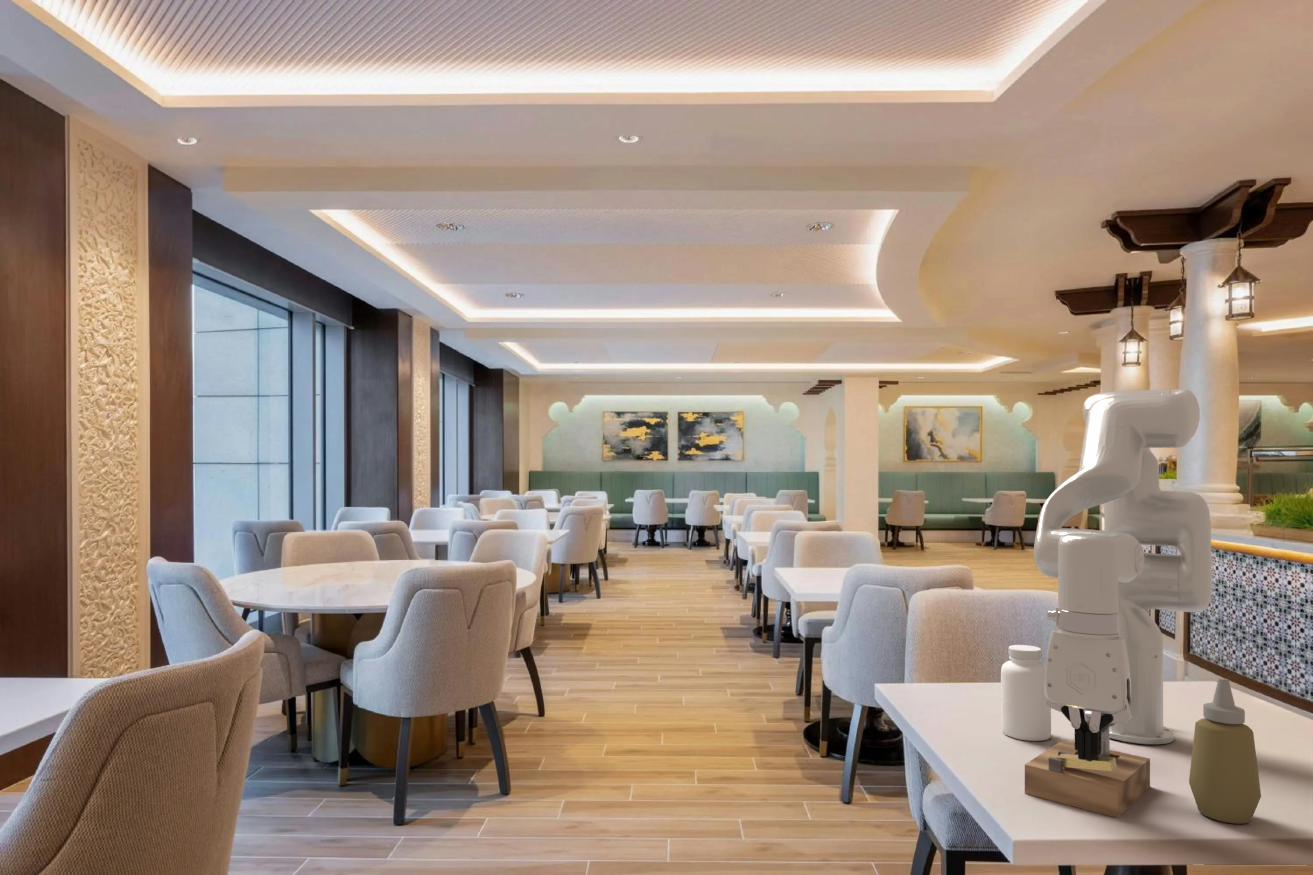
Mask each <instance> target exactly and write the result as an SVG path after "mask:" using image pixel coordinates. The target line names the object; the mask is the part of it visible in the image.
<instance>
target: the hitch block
mask: <svg viewBox="0 0 1313 875" xmlns="http://www.w3.org/2000/svg"><path fill="white" fill-rule="evenodd" d="M1061 754H1074V755H1078V751H1077V750H1075V741H1072V740H1071V741H1070V740H1067V739H1062V740H1061V741H1059V742H1057V743H1056V744H1054V745H1053V746H1051V747H1050V748H1048V749H1047V750H1045V751H1043V752H1042V753H1040V754H1039V755H1037V756H1035V757H1034V758H1033V759H1031V760H1030V761H1028V762H1026V763H1025V764H1024V794H1027V795H1030V796H1034V797H1036V798H1037V797H1038V798H1042V799H1044V800H1049V801H1053V802H1056V803H1061V804H1064V805H1067V806H1071V807H1075V808H1079V809H1083V810H1086V811H1087V810H1088V811H1090V812H1094V813H1098V814H1102V815H1106V816H1110V817H1114V818H1117V819H1118V818H1119V817H1121V816H1122V815H1123V813H1125V811H1126V810H1128V808H1129V807H1131V806H1132V805H1133V804H1134V803H1135V802H1136V800H1139V798H1140V797H1141V796H1142V795H1143V794H1144V793H1145V792H1146V791H1147V790H1148V789H1149V788H1150V787H1151V758H1149V757H1144V756H1139V755H1136V754H1131V753H1127V752H1121V751H1116V750H1113V749H1110V757H1114V758H1115V759H1116V764H1117V767H1116V768H1115V769H1114V770H1112V771H1104V770H1093V769H1081V768H1069V767H1063V760H1061V759H1057V758H1056V757H1058V756H1059V755H1061Z"/></svg>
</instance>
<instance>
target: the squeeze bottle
mask: <svg viewBox="0 0 1313 875" xmlns="http://www.w3.org/2000/svg"><path fill="white" fill-rule="evenodd" d="M1217 679H1218V680H1217V683H1216V687H1215V691H1214V694H1213V695H1214V696H1213V699H1212V702H1206V703H1203V705H1202V706H1203V707H1202V710H1203V714H1202V715H1203V718H1200V719H1199V720H1197V721H1195V724H1194V733H1193V740H1192V741H1193V742H1192V749H1191V750H1192V752H1191V760H1190V768H1189V775H1188V776H1189V777H1188V783H1189V786H1190V789H1191V793H1192V795H1193V799H1194V801H1195V804H1196V806H1197V809H1198V812H1199V813H1200V814H1202V815H1203V816H1205V817H1208V818H1210V819H1213V820H1215V821H1216V820H1217V821H1219V822H1224V823H1230V824H1239V825H1240V824H1248V823H1250V822H1252V820H1253V818H1254V814H1255V813H1256V809H1257V807H1258V805H1259V803H1260V799H1261V798H1262V794H1261V793H1262V792H1261V784H1260V776H1259V768H1258V760H1257V751H1256V744H1255V735H1254V734H1255V733H1254V732H1253V729H1252V728H1251V727H1249V725H1247V724H1245V722H1246V718H1245V717H1246V715H1245V714H1246V712H1245V709H1244V708H1241V707H1240V706H1237V705H1236V704H1235V699H1234V695H1233V692H1232V688H1231V684H1230V680H1229V679H1226V678H1217Z"/></svg>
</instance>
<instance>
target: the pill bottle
mask: <svg viewBox="0 0 1313 875" xmlns="http://www.w3.org/2000/svg"><path fill="white" fill-rule="evenodd" d="M1042 656H1043V650H1042V649H1041V647H1038V646H1035V645H1026V644H1013V645H1009V646H1008V659H1009V660H1007V661H1005V662H1004V663H1003V664H1002V665H1001V668H1000V669H1001V670H1000V694H1001V695H1000V697H1001V698H1000V700H1001V701H1000V704H1001V705H1000V707H1001V708H1000V711H1001V712H1000V717H1001V718H1000V719H1001V720H1000V723H1001V725H1000V726H1001V731H1002V733H1003V734H1004V735H1006V736H1008V737H1010V738H1012V739H1016V740H1021V741H1029V742H1038V741H1039V742H1041V741H1047V740H1049V739H1050V738H1051V736H1052V708H1050V707H1048V706H1047V704H1046V701H1047V698H1046V696H1045V690H1044V684H1045V669H1046V664H1045V663H1042V661H1043V659H1042Z"/></svg>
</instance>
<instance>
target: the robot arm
mask: <svg viewBox="0 0 1313 875" xmlns="http://www.w3.org/2000/svg"><path fill="white" fill-rule="evenodd" d="M1200 413H1201V412H1200V405H1199V401H1198V399H1197V397H1196V396H1195V394H1194V393H1193V392H1192V391H1190V390H1189V389H1184V388H1177V389H1176V388H1174V389H1172V388H1171V389H1170V388H1169V389H1168V388H1167V389H1144V390H1143V389H1141V390H1140V389H1139V390H1138V389H1137V390H1132V389H1131V390H1129V389H1128V390H1114V391H1113V390H1112V391H1103V392H1098V393H1094V394H1092V395H1090V396H1088V397H1087V398H1086V399H1085V400H1084V402H1083V406H1082V415H1083V421H1084V425H1085V428H1084V433H1083V441H1082V445H1081V452H1080V459H1079V468H1078V471H1077V472H1076V473H1074V474H1073V475H1071V476H1069V478H1067V479H1066V480H1065V481H1064V482H1062V483H1061V484H1059V485H1058V487H1057V488H1055V489H1054V491H1053V492H1052V493H1050V495H1049V496H1048V498H1047V499H1046V500H1045V501H1044V503H1043V505H1042V507H1041V509H1040V511H1039V516H1038V520H1037V521H1038V522H1037V526H1036V531H1035V532H1036V533H1035V538H1034V543H1033V544H1034V546H1033V559H1034V563H1035V567H1036V569H1037V570H1038V571H1039V572H1040V573H1041V575H1044V576H1045V577H1049V578H1052V579H1058V580H1057V608H1056V610H1048V611H1047V620H1048V621H1053V622H1055V623H1056V627H1057V628H1055V629H1052V630H1051V631H1050V634H1049V639H1048V645H1047V651H1046V659H1045V660H1046V661H1045V666H1046V669H1045V684H1044V690H1045V696H1046V698H1047V701H1046V704H1047V706H1048V707H1050V708H1051V710H1054V711H1057V712H1059V713H1061V714H1062V715H1064V717H1065V718H1066V719H1067V720H1068V721H1069V722H1070V725H1071V727H1072V728H1073V729H1074V742H1075V750H1077V751H1078V759H1081V760H1083V759H1086V760H1087V761H1090V762H1091V761H1092V760H1093V759H1094V758H1096V757H1097V756H1098V755H1100V754H1101V729H1103V728H1104V727H1106V726H1107V725H1108V724H1110V723H1113V722H1115V723H1116V724H1115V725H1114V726H1110V727H1109V738H1110V739H1111V740H1116V741H1120V742H1125V743H1131V744H1137V745H1138V744H1139V745H1152V746H1153V745H1166V744H1169V743H1172V742H1173V741H1174V740H1175V736H1174V735H1175V733H1174V732H1173V730H1171V729H1170V728H1168V727H1166V726H1164V640H1163V639H1164V638H1163V633H1162V631H1161V629H1160V627H1159V625H1158V624H1157V623H1156V622H1155V620H1154V619H1153V618H1152V617H1151V616H1150V614H1148V612H1147V611H1146V610H1161V611H1162V610H1163V611H1172V612H1182V613H1183V612H1186V613H1199V612H1203V611H1204V610H1206V609H1207V608H1208V607H1209V605H1210V603H1211V600H1212V593H1213V592H1212V590H1213V587H1212V586H1213V580H1212V579H1213V578H1212V577H1213V572H1212V571H1213V569H1212V564H1213V563H1212V525H1211V513H1210V510H1209V506H1208V503H1207V502H1206V500H1205V498H1204V497H1202V496H1201V495H1199V494H1197V493H1195V492H1192V491H1191V492H1190V491H1179V490H1174V491H1173V490H1162V489H1160V483H1159V482H1160V481H1159V480H1160V466H1159V460H1158V459H1157V457H1156V456H1155V454H1154V453H1153V452H1152V451H1151V449H1154V448H1155V449H1156V448H1157V449H1158V448H1162V449H1163V448H1164V449H1166V448H1167V449H1168V448H1170V449H1171V448H1174V449H1175V448H1178V449H1179V448H1183V447H1185V446H1186V445H1188V444H1189V442H1190V441H1191V440H1192V438H1193V437H1194V436H1195V434H1196V432H1197V430H1198V428H1199V423H1200V418H1201V417H1200V415H1201V414H1200ZM1100 505H1103V509H1104V510H1103V512H1104V513H1103V517H1104V518H1103V519H1104V527H1105V530H1103V529H1102V530H1100V529H1099V530H1098V529H1089V528H1088V529H1087V528H1086V529H1085V528H1070V527H1069V528H1068V527H1067V528H1066V527H1063V526H1064V524H1065V523H1066V522H1067V521H1068V520H1069V519H1070V518H1072V517H1074V516H1075V515H1077V514H1079V513H1081V512H1084V511H1085V510H1088V509H1092V508H1095V507H1098V506H1100ZM1142 545H1143V546H1157V547H1173V548H1175V549H1177V550H1178V552H1179V553H1180V554H1167V553H1165V554H1163V553H1154V552H1145V551H1144V548H1143V546H1142ZM1085 710H1090V711H1092V713H1091V719H1090V725H1089V726H1088V723H1087V720H1086V714H1085Z"/></svg>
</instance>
